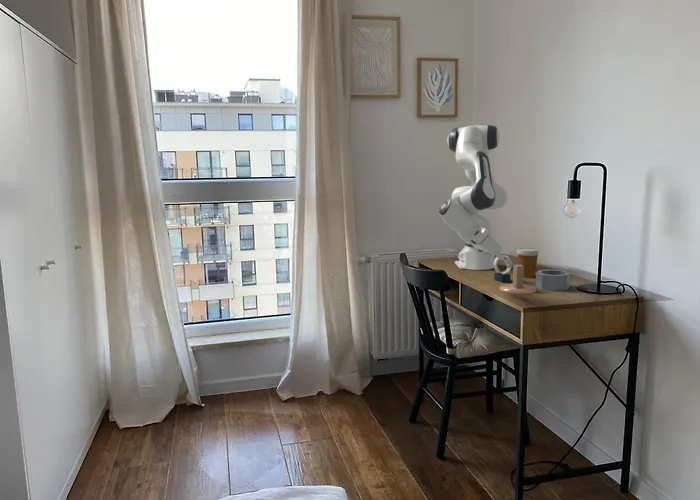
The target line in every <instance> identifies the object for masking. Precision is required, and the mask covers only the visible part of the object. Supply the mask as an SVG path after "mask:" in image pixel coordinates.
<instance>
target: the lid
mask: <svg viewBox="0 0 700 500" xmlns="http://www.w3.org/2000/svg"><path fill="white" fill-rule="evenodd" d="M512 271H513V272H512V283H507V284H506V283H504V284H502V285H500V286H499V290H500V291H501V292H503V293H505V292H506V294H511V295H513V294H514V295H530V294H535V293H536V292H537V287H536V286H533V285H531V284H525V283H524V281H525V279H524V278H525V277H524V266H523V265H518V264H512Z"/></svg>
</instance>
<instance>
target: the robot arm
mask: <svg viewBox="0 0 700 500" xmlns="http://www.w3.org/2000/svg"><path fill="white" fill-rule="evenodd" d="M500 139H501V137H500V132H499V128H498V127H497V126H495V125H491V124H488V125H481V124H480V125H478V124H477V125H467V126H463V127H455V128H452V129H450V130H449V132H448V134H447V139H446V141H447V146H448V148H449V150H450V151H451V152H453V153H455V161H456V164H457V165H458V166H459V167H460V168H461V169H463V170H464V174H465V176H466V177H467V179H468V180H470V181H471V182H473V183H474V184H473V185H464V186H463V185H462V186H459V187H455V188H454V190H453V191H452V193H451V198H447V199H445V200H444V201H443V202H442V204H441V205H440V206H439V210H438V213H439V216H440V217H441V219H442V220H443V221H444V223H446V224H445V225H447V226H448V227H449V228H450V229H451V230H453V231H455V232H456V233H457V236H458V237H460V238H461V240H463V241H464V245H465V246H464V247H463V248H462V249H461V250H460V252H459V253H458V254H457V258H458V259H459V260H455V261H454V264H455V265H456V266H457V267H458V269H461V270H463V269H464V270H474V271H475V270H476V271H481V270H482V271H484V270H487V271H488V270H492V269H494V266H493V265H494V260H495V258H496V257H497V258H498V259H499V260H498V261H503V258H504V257H503V256H504V254H502V253H501V250H502V247H501V245H500V244H499V243H498V241H497V240H496V239H495V238H494V237H493V236H492V233H491V232H492V231H491V229H492V228H491V227H492V226H491V224H492V223H491V221H490V220H489V219H488V218H487V217H485V216H482V215H481V214H480V213H479V212H481V211H483V210H495V209H496V210H497V209H502V208H504V206H505V205H506V203H507V201H508V193H507V190H506V189H505V188H504V187H503V186H501V184H498V183H497V182H496V181H495V178H493V176H492V171H491V164H490V151H491V150H494V149H496V148H497V147H498V145H499V144H500Z"/></svg>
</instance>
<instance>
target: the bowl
mask: <svg viewBox="0 0 700 500" xmlns="http://www.w3.org/2000/svg"><path fill="white" fill-rule="evenodd" d="M570 283H571V272H570V271H566V270H561V269H540V270H538V271H535V287H536V289H540V290H542V291H552V292H557V291H568V290H569V289H570V286H571V284H570Z"/></svg>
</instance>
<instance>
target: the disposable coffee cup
mask: <svg viewBox="0 0 700 500" xmlns="http://www.w3.org/2000/svg"><path fill="white" fill-rule="evenodd" d="M539 254H540V252H539V249H538V248H535V247H520V248H517V249H516V255H517V265H523V266H524V278H526V279H527V278H528V279H529V278H531V279H532V278H534V277H535V278H536V269H537V263H538V257H539Z"/></svg>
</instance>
